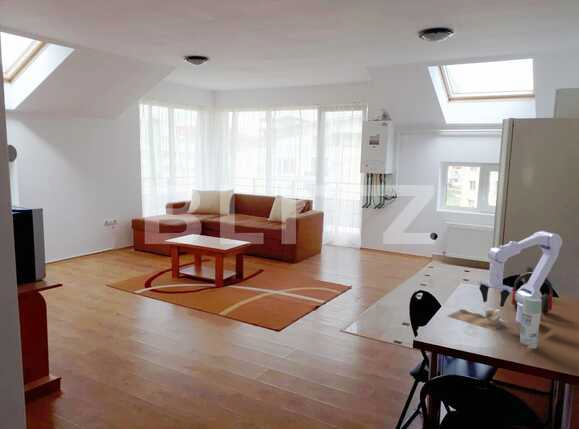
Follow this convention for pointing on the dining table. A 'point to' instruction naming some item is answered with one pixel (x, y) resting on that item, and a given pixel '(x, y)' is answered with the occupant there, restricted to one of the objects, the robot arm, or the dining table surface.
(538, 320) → the spray paint can
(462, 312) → the walnut board
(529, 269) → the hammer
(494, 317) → the block
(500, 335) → the dining table surface
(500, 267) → the robot arm
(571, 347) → the dining table surface
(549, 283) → the headphones
